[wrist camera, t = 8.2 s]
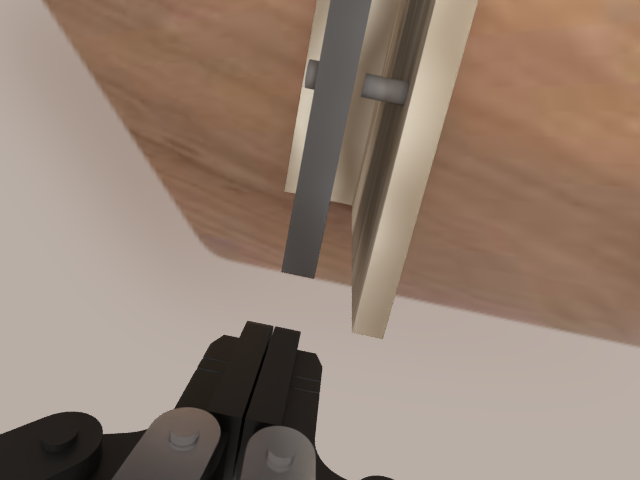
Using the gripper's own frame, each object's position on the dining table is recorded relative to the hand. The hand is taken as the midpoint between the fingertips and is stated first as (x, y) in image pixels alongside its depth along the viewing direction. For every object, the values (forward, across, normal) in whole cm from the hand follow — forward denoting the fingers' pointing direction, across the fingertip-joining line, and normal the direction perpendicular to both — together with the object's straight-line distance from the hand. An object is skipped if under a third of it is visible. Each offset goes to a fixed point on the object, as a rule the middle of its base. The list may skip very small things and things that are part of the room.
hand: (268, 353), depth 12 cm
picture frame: (+23, 0, -7) cm, 24 cm away
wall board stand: (+34, -2, -7) cm, 35 cm away
